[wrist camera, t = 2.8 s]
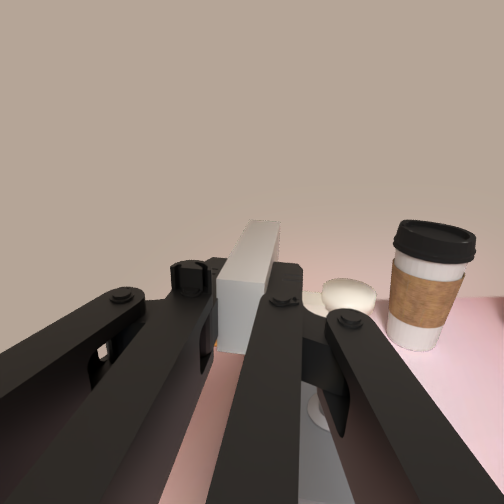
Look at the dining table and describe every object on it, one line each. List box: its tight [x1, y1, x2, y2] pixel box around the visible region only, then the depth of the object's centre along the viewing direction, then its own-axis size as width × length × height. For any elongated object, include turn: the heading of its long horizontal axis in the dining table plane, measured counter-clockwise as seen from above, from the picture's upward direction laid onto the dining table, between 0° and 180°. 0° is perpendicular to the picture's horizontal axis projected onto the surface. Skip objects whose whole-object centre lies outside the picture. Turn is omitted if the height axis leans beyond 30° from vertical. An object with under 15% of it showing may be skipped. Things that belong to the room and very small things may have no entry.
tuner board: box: [298, 381, 355, 504], centre depth 32 cm, size 12×18×2 cm
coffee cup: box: [387, 220, 476, 352], centre depth 40 cm, size 8×8×15 cm
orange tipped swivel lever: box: [214, 278, 376, 417], centre depth 29 cm, size 13×4×12 cm, turn 80°
